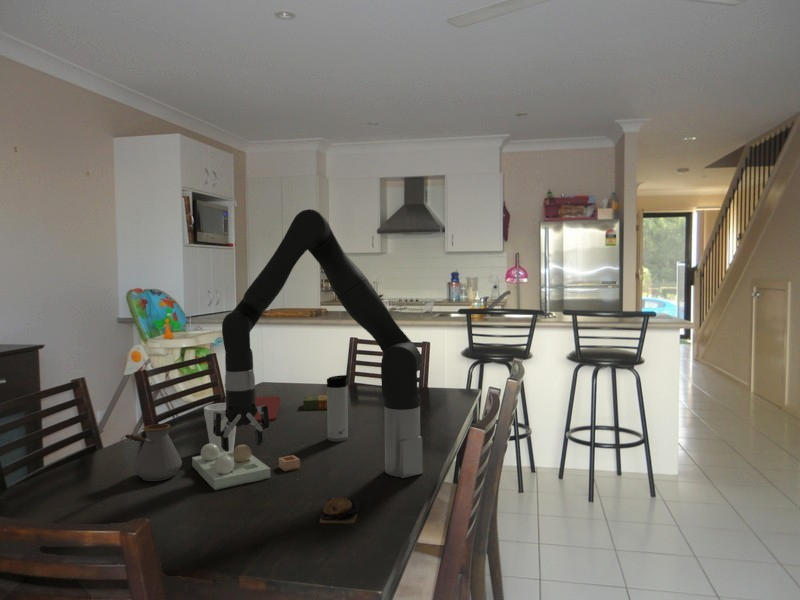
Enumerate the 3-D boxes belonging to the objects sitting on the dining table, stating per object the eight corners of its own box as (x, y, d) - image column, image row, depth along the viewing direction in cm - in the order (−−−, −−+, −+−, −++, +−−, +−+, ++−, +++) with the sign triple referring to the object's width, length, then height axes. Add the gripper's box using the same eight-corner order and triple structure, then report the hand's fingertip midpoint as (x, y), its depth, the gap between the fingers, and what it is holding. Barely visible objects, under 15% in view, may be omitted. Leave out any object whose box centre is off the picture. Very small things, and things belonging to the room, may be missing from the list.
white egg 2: (237, 475, 146) (236, 456, 146) (217, 479, 143) (217, 459, 143) (231, 470, 150) (230, 451, 150) (212, 473, 147) (211, 454, 147)
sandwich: (356, 526, 121) (356, 509, 121) (315, 525, 122) (315, 508, 122) (362, 505, 132) (362, 489, 132) (324, 505, 132) (324, 489, 132)
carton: (345, 409, 223) (345, 398, 222) (303, 411, 221) (302, 399, 221) (345, 404, 231) (345, 393, 231) (304, 405, 230) (304, 395, 229)
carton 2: (275, 432, 206) (281, 405, 230) (275, 418, 205) (281, 393, 229) (240, 433, 204) (250, 406, 229) (239, 420, 203) (249, 394, 228)
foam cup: (229, 443, 179) (228, 401, 178) (245, 450, 172) (243, 406, 172) (199, 450, 172) (198, 406, 172) (214, 457, 166) (213, 412, 165)
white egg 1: (222, 462, 156) (221, 444, 156) (203, 465, 153) (203, 447, 153) (216, 457, 160) (216, 440, 160) (198, 460, 157) (198, 443, 157)
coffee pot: (147, 468, 157) (145, 413, 157) (189, 468, 157) (188, 413, 156) (103, 499, 136) (100, 435, 135) (151, 500, 135) (149, 435, 135)
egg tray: (270, 478, 149) (270, 468, 149) (214, 490, 141) (214, 479, 141) (243, 456, 166) (242, 448, 166) (192, 466, 158) (191, 457, 158)
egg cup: (299, 468, 156) (299, 459, 156) (285, 471, 153) (284, 462, 153) (293, 464, 159) (293, 455, 159) (278, 467, 157) (278, 457, 157)
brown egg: (254, 463, 154) (253, 445, 154) (236, 466, 152) (235, 448, 152) (248, 459, 159) (247, 441, 158) (230, 462, 156) (230, 444, 156)
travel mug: (345, 442, 179) (344, 377, 178) (324, 441, 180) (323, 376, 179) (351, 436, 185) (350, 373, 184) (331, 435, 186) (330, 373, 185)
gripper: (217, 392, 147) (219, 456, 148) (271, 385, 155) (273, 446, 156) (208, 388, 153) (211, 449, 154) (261, 381, 161) (263, 439, 162)
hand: (242, 447), depth 155 cm, fingers open, 8 cm apart
